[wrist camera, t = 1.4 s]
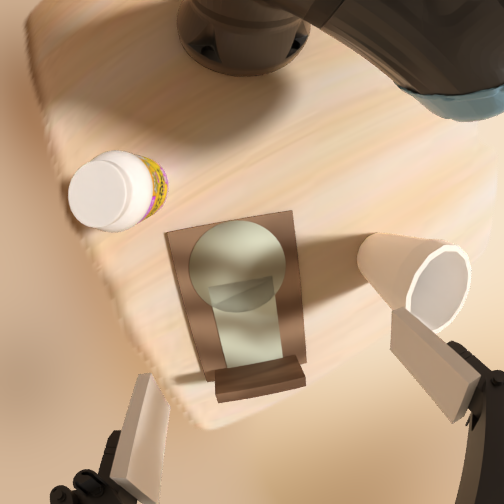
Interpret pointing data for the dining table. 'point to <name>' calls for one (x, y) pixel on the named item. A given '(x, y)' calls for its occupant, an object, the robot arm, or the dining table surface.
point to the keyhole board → (244, 303)
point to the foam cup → (417, 275)
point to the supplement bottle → (117, 191)
